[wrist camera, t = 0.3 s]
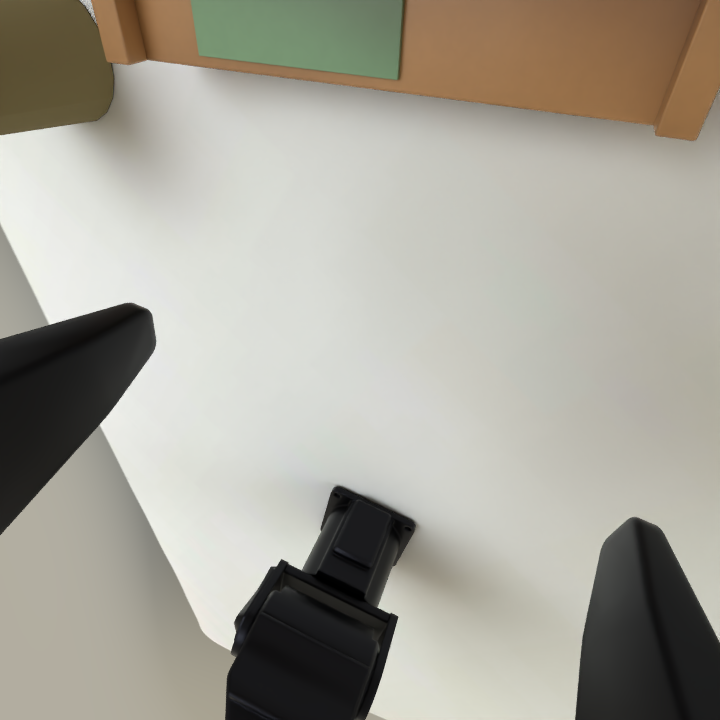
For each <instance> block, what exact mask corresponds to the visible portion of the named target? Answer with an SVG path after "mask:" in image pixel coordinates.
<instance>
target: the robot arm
mask: <svg viewBox="0 0 720 720" xmlns="http://www.w3.org/2000/svg"><path fill="white" fill-rule="evenodd" d="M155 346H156V336H155V330H154V323H153V317H152V314H151V312H150V311H149V310H148V309H146V308H144V307H141V306H139V305H136V304H134V303H124V304H121V305H117V306H114V307H110V308H107V309H103V310H100V311H96V312H93V313H89V314H86V315H83V316H79V317H76V318H72V319H69V320H65V321H62V322H58V323H55V324H51V325H48V326H44V327H41V328H38V329H34V330H31V331H27V332H24V333H20V334H16V335H13V336H10V337H6V338H3V339H0V535H1V534H2V532H4V530H5V529H6V528H7V527H8V526H9V525H10V524H11V523H12V522H13V520H14V519H15V518H16V517H17V516H18V515H19V514H20V513H21V512H22V510H23V509H24V508H25V507H26V506H27V505H28V504H29V502H30V501H31V500H32V499H33V498H34V497H35V496H36V495H37V494H38V492H39V491H40V490H41V489H42V488H43V487H44V486H45V485H46V483H48V481H49V480H50V479H51V478H52V477H53V476H54V475H55V473H57V471H58V470H59V469H60V468H61V467H62V466H63V465H64V464H65V463H66V461H67V460H68V459H69V458H70V457H71V456H72V455H73V454H74V452H75V451H76V450H77V449H78V448H79V447H80V446H81V445H82V443H83V442H84V441H85V440H86V439H87V438H88V437H89V436H90V435H91V434H92V432H93V431H94V430H95V429H96V428H97V427H98V426H99V425H100V423H101V422H102V421H103V420H104V419H105V418H106V416H107V415H108V414H109V413H110V412H111V410H112V409H113V408H114V406H115V405H116V404H117V402H118V401H119V400H120V398H121V397H122V395H123V394H124V393H125V391H126V390H127V388H128V387H129V386H130V384H131V383H132V381H133V380H134V379H135V377H136V376H137V374H138V373H139V372H140V370H141V369H142V368H143V366H144V365H145V363H146V362H147V361H148V359H149V358H150V356H151V355H152V353H153V352H154V350H155ZM415 528H416V525H415V523H414V522H412V521H410V520H408V519H406V518H404V517H402V516H400V515H398V514H395V513H393V512H391V511H389V510H387V509H385V508H383V507H381V506H378V505H376V504H374V503H372V502H370V501H368V500H366V499H364V498H361V497H359V496H357V495H355V494H353V493H351V492H349V491H347V490H344V489H342V488H340V487H334V488H333V490H332V492H331V495H330V498H329V501H328V505H327V508H326V512H325V515H324V519H323V522H322V525H321V533H320V535H319V537H318V539H317V541H316V543H315V545H314V547H313V549H312V551H311V553H310V555H309V557H308V559H307V561H306V563H305V565H304V567H303V569H302V571H301V570H299V569H297V568H295V567H293V566H291V565H289V564H288V562H286V561H284V560H282V559H281V561H280V562H279V564H278V565H277V567H270V569H269V571H268V573H267V575H266V576H265V578H264V580H263V582H262V583H261V585H260V587H259V588H258V590H257V591H256V592H255V594H254V595H253V596H252V597H251V599H250V600H249V601H248V603H247V604H246V605H245V606H244V608H243V609H242V610H241V611H240V613H239V614H238V616H237V617H236V619H235V622H234V625H235V629H236V635H235V638H234V644H233V647H232V650H231V654H232V655H233V656H235V657H236V659H235V661H234V663H233V664H232V666H231V668H230V670H229V673H228V676H227V689H226V715H225V720H365V719H366V717H367V714H368V712H369V710H370V708H371V705H372V703H373V700H374V697H375V695H376V692H377V689H378V686H379V683H380V680H381V677H382V673H383V670H384V666H385V663H386V659H387V656H388V652H389V649H390V645H391V641H392V638H393V634H394V631H395V627H396V624H397V620H398V616H396V615H394V614H392V613H391V614H389V613H387V612H385V611H383V610H381V609H379V608H377V607H378V604H379V602H380V599H381V596H382V593H383V591H384V588H385V585H386V582H387V580H388V577H389V574H390V571H391V569H392V566H395V565H396V563H397V561H398V560H399V558H400V556H401V554H402V553H403V551H404V549H405V547H406V545H407V544H408V542H409V540H410V538H411V537H412V535H413V533H414V531H415ZM575 720H720V642H719V640H718V638H717V636H716V634H715V632H714V630H713V628H712V626H711V625H710V623H709V621H708V619H707V617H706V615H705V613H704V611H703V609H702V607H701V605H700V603H699V601H698V599H697V597H696V595H695V593H694V591H693V589H692V587H691V585H690V584H689V582H688V580H687V578H686V576H685V574H684V572H683V570H682V568H681V566H680V564H679V562H678V560H677V558H676V556H675V554H674V552H673V550H672V548H671V546H670V544H669V542H668V541H667V539H666V537H665V535H664V533H663V531H662V530H661V529H660V528H659V527H658V526H656V525H654V524H652V523H649V522H647V521H645V520H642V519H640V518H637V517H632V518H629V519H628V520H627V521H626V522H624V523H623V524H622V525H621V526H620V527H619V528H618V529H617V530H616V531H614V532H613V533H612V534H611V535H610V536H609V537H608V538H607V539H606V540H605V542H604V544H603V546H602V548H601V552H600V556H599V561H598V566H597V571H596V575H595V580H594V585H593V589H592V594H591V599H590V604H589V608H588V613H587V618H586V623H585V628H584V633H583V640H582V648H581V658H580V670H579V682H578V693H577V705H576V717H575Z"/></svg>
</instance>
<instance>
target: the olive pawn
mask: <svg viewBox="0 0 720 720" xmlns="http://www.w3.org/2000/svg"><path fill="white" fill-rule="evenodd" d="M113 84H114V76H113V71H112V66H111V63H109V62H107V60H106V56H105V53H104V49H103V45H102V41H101V37H100V33H99V29H98V27H97V26H96V24H95V23H94V21H93V19H92V18H91V16H90V15H89V13H88V11H87V10H86V8H85V7H84V6H83V5H82V4H81V3H80V1H79V0H0V135H5V134H11V133H18V132H25V131H31V130H38V129H44V128H51V127H57V126H64V125H71V124H77V123H84V122H90V121H97V120H98V119H99V118H100V117H102V116H103V115H104V114H105V113H106V112H107V110H108V108H109V106H110V103H111V101H112V98H113Z"/></svg>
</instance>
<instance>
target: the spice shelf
mask: <svg viewBox="0 0 720 720" xmlns="http://www.w3.org/2000/svg"><path fill="white" fill-rule="evenodd" d="M91 2H92V6H93V10H94V14H95V17H96V21H97V25H98V29H99V33H100V37H101V41H102V45H103V49H104V53H105V56H106V60H107V62H109V63H117V64H124V65H131V64H135V63H139V62H143V61H146V60H151V61H159V62H167V63H174V64H182V65H190V66H198V67H205V68H213V69H221V70H228V71H236V72H244V73H252V74H259V75H267V76H275V77H282V78H290V79H298V80H306V81H313V82H321V83H329V84H336V85H344V86H352V87H360V88H367V89H375V90H383V91H390V92H398V93H406V94H414V95H421V96H429V97H437V98H444V99H452V100H460V101H468V102H475V103H483V104H491V105H498V106H506V107H514V108H522V109H529V110H537V111H545V112H552V113H560V114H568V115H576V116H583V117H591V118H599V119H606V120H614V121H622V122H630V123H637V124H645V125H653V126H654V132H655V135H656V136H660V137H667V138H675V139H682V140H690V141H694V140H696V139H697V137H698V135H699V133H700V130H701V128H702V126H703V124H704V121H705V119H706V117H707V115H708V112H709V110H710V108H711V106H712V103H713V101H714V99H715V97H716V94H717V92H718V90H719V88H720V0H91Z"/></svg>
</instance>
